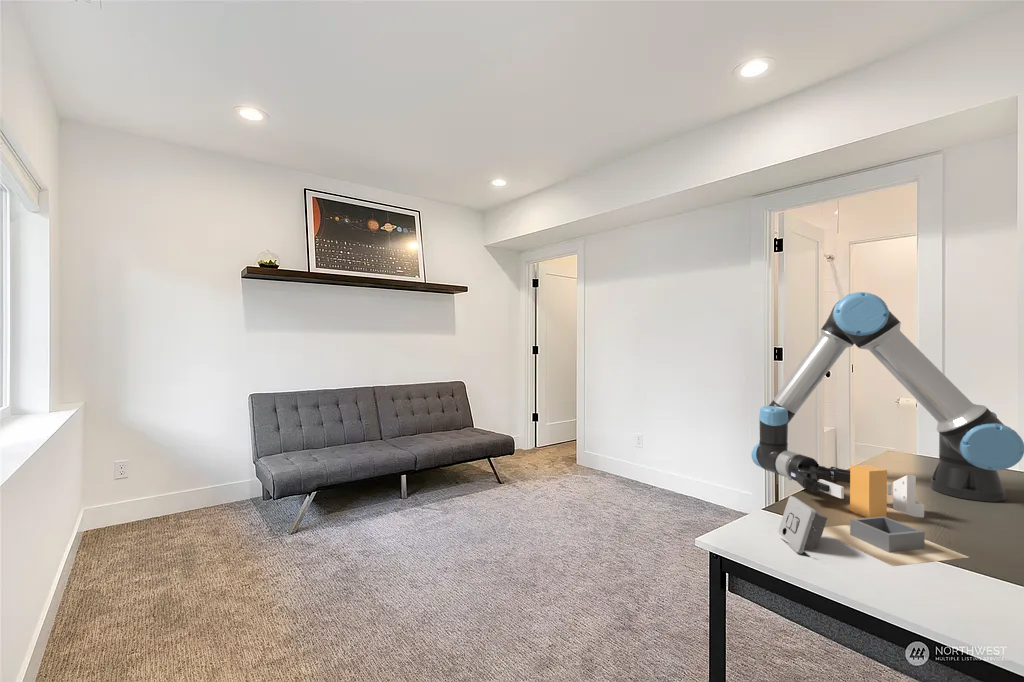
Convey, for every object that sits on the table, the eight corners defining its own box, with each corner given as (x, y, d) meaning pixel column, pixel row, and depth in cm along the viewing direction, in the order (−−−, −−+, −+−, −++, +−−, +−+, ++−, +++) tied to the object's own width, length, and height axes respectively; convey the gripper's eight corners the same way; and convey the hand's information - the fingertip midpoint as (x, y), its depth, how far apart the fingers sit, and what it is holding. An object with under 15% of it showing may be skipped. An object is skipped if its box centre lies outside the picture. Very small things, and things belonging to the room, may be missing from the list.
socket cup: (883, 531, 105) (883, 516, 105) (924, 548, 97) (924, 531, 96) (850, 534, 103) (850, 519, 103) (888, 552, 95) (889, 535, 95)
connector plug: (867, 513, 119) (867, 464, 119) (886, 521, 114) (887, 470, 114) (849, 514, 118) (850, 465, 118) (868, 522, 113) (869, 471, 113)
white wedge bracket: (918, 512, 113) (907, 475, 117) (896, 520, 121) (886, 484, 125) (936, 513, 112) (924, 475, 116) (912, 521, 120) (902, 485, 125)
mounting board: (880, 526, 110) (880, 522, 110) (969, 562, 93) (969, 557, 93) (813, 532, 107) (813, 528, 107) (892, 571, 89) (892, 565, 89)
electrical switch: (776, 536, 105) (781, 494, 105) (801, 539, 105) (806, 497, 104) (797, 555, 96) (803, 509, 96) (825, 559, 95) (830, 513, 95)
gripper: (835, 478, 139) (909, 503, 118) (759, 483, 134) (821, 510, 113) (835, 452, 139) (909, 472, 118) (759, 456, 134) (822, 478, 113)
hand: (866, 491), depth 116 cm, fingers open, 13 cm apart
